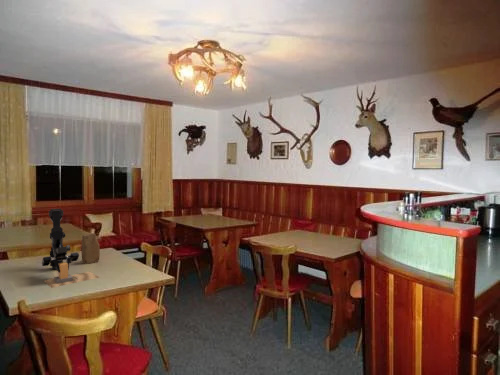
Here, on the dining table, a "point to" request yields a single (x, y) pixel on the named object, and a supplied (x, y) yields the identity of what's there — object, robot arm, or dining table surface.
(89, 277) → the board
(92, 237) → the bread loaf
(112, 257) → the dining table surface
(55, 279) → the sanding block
